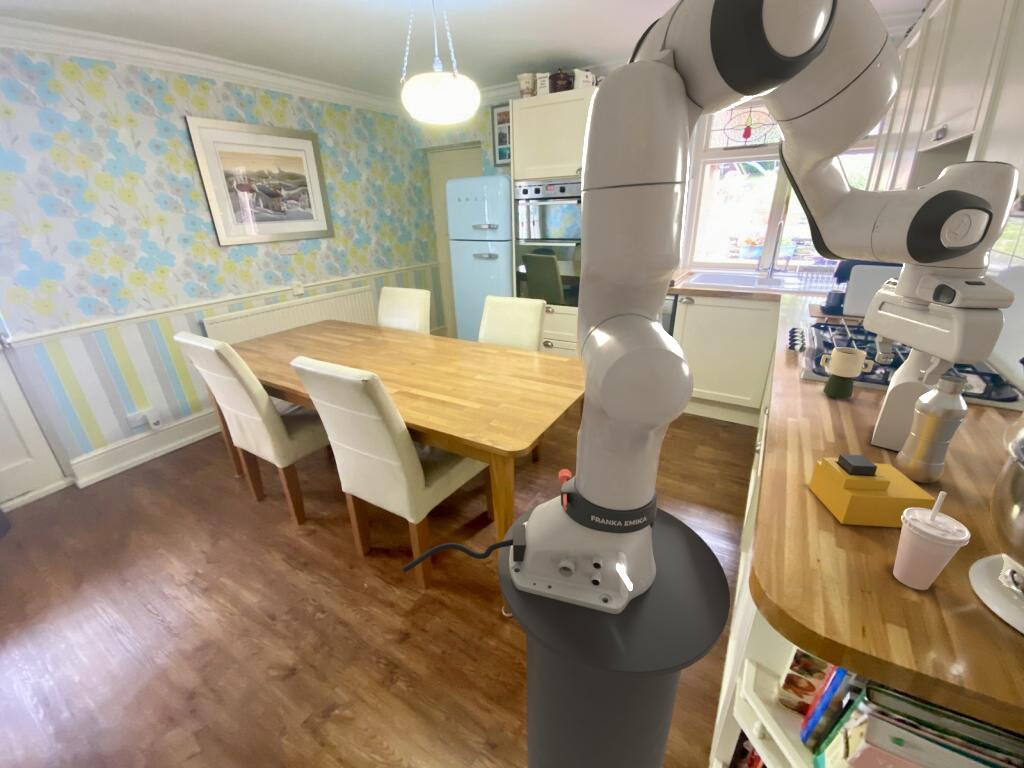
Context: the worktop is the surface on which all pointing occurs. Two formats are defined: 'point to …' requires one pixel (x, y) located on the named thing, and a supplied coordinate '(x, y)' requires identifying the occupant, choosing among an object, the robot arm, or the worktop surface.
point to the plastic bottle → (932, 430)
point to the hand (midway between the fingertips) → (903, 372)
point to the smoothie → (927, 544)
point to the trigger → (856, 465)
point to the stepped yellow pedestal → (867, 494)
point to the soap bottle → (901, 402)
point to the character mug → (844, 370)
